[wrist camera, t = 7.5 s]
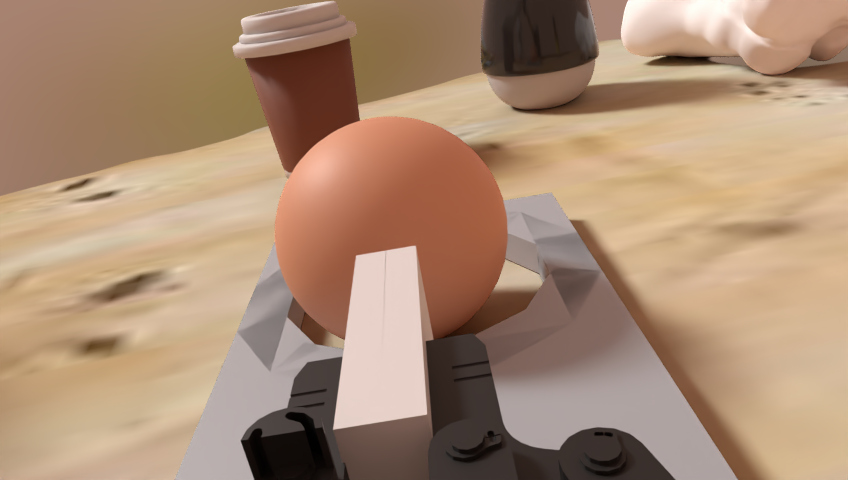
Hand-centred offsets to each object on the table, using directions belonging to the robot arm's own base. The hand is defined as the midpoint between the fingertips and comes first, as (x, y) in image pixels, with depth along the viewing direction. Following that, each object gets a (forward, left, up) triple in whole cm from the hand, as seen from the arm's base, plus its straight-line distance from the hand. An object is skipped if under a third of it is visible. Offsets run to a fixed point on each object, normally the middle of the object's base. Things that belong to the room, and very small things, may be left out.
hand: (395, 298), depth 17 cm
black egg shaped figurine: (-33, +33, -7) cm, 47 cm away
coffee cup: (-35, +12, -7) cm, 38 cm away
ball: (-8, +4, -2) cm, 9 cm away
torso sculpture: (-23, +51, -7) cm, 56 cm away
